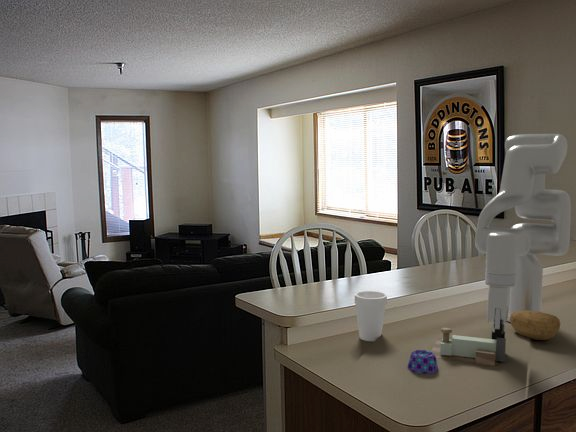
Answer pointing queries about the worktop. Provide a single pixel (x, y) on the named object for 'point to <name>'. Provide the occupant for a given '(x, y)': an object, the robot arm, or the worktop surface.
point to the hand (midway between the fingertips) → (497, 346)
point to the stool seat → (481, 356)
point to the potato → (535, 324)
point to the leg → (473, 346)
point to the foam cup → (370, 313)
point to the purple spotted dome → (422, 362)
